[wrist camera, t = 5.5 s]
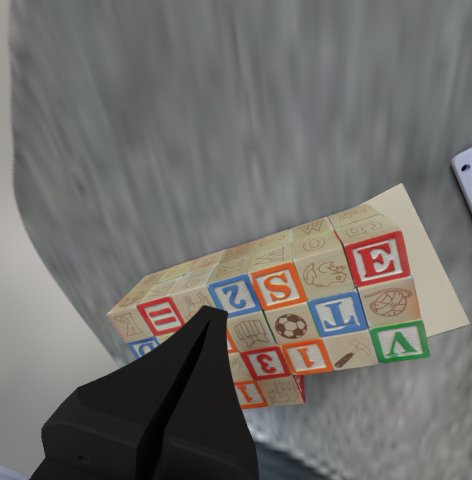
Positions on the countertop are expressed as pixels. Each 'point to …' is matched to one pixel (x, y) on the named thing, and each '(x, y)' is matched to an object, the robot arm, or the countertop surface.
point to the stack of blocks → (291, 304)
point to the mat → (422, 264)
